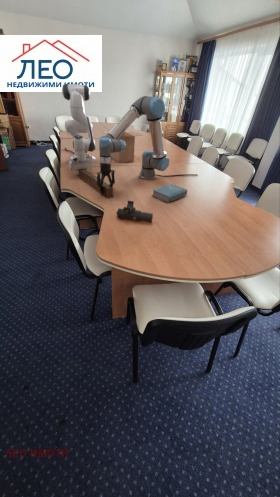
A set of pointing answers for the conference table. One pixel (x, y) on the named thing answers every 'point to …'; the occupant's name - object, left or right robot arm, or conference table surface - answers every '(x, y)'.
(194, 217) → the conference table surface
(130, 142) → the box
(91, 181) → the bar
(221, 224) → the conference table surface
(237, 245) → the conference table surface
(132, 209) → the laser sight
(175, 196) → the book
